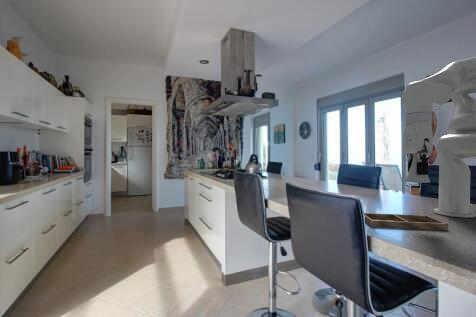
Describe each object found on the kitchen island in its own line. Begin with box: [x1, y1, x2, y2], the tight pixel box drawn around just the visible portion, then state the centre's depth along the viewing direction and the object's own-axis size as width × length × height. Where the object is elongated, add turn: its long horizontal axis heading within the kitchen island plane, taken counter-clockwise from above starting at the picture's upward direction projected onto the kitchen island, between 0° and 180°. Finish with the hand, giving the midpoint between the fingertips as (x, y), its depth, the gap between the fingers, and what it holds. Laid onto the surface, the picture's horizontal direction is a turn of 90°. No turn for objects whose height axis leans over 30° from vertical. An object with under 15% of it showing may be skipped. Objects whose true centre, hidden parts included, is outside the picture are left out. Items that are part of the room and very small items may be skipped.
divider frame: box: [363, 212, 449, 231], centre depth 89 cm, size 22×12×2 cm, turn 81°
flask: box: [404, 153, 431, 184], centre depth 88 cm, size 7×7×10 cm
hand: (417, 173), depth 88 cm, fingers closed on flask, 4 cm apart
